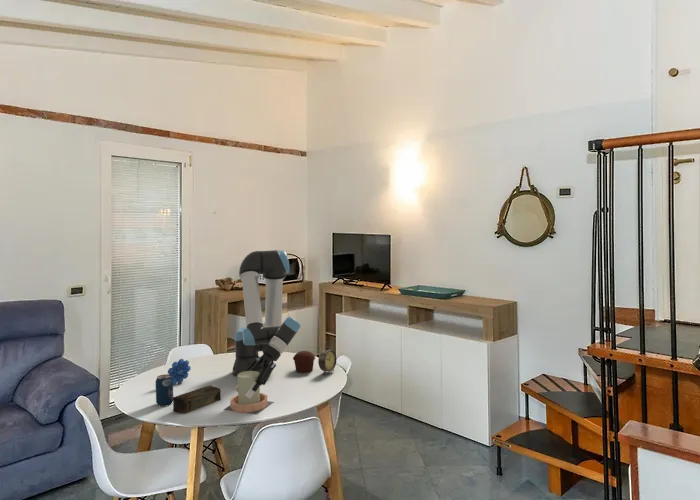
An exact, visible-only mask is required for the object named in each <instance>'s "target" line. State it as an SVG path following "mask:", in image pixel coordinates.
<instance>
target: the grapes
mask: <svg viewBox="0 0 700 500" xmlns="http://www.w3.org/2000/svg"><path fill="white" fill-rule="evenodd" d="M191 368H192V367H191V366H190V362H189V360H184V358H180V359H179V360H178V361H173V363H172V364H171V367H170V368H168V370H167V374H168V375H171V377H172V379H173V386H174V385H176V384H182V383H183V381H184V380H185V379H187V378H188V377H189V372H191Z"/></svg>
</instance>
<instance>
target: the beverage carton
mask: <svg viewBox="0 0 700 500" xmlns="http://www.w3.org/2000/svg"><path fill="white" fill-rule="evenodd" d="M221 396H222V394H221V388H220V387H217V386H213V385H206V386H204V387H201V388H200V387H199V388H197V389H195V390H191V391H187V392H185V393H182V394H178V395H176V396H173V402H172V404H173V405H172V407H173V408H172V409H173V410H172V411H173V412H175V413H177V412H178V414H179V413H180V414H183V415H185V414H187V413H191V412H193V411H196V410H198V409H201V408H203V407H206V406H209V405H211V404H214V403H216V402H218V401H221Z"/></svg>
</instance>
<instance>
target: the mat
mask: <svg viewBox="0 0 700 500" xmlns="http://www.w3.org/2000/svg"><path fill="white" fill-rule="evenodd" d="M274 403H275V401H270V400H269V401H268V400H267V406H266V407H265V408H264V409H262V410H259V411H256V412H250V413H249V414H251V415H259V414H260V413H262V412H263V411H265V409H266V410H267V408H268V407H270V406H271V405H273V404H274ZM224 410H225V411H230V412H234V411H233V410H232V409H231V407H230V405H228V406H227V407H225V408H223V411H224Z"/></svg>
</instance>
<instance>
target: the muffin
mask: <svg viewBox="0 0 700 500" xmlns="http://www.w3.org/2000/svg"><path fill="white" fill-rule="evenodd" d="M315 359H316V356H315V355H314V354H313V353H312V352H311V351H309V350H301V351H298V352H296V354H294V356H293V358H292V360H293V361H294V365H295V367H294V368H295V372H297V373H299V374H300V373H301V374H307V373H311V372H313V370H314V362H315Z"/></svg>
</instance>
